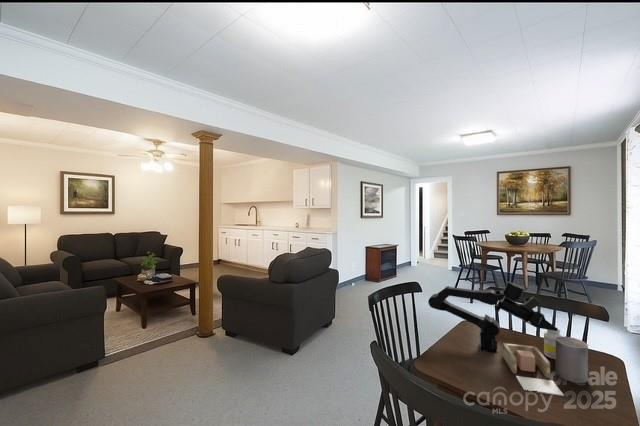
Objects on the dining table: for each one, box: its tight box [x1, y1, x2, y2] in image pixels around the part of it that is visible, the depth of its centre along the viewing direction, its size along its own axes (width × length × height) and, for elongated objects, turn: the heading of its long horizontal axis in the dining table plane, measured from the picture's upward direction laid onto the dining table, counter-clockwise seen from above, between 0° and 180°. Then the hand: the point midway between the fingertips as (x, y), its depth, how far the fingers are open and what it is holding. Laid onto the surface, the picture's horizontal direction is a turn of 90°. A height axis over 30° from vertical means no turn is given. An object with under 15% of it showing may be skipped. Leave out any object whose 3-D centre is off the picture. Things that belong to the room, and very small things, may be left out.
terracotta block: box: [517, 350, 536, 373], centre depth 122 cm, size 5×5×6 cm
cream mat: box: [515, 375, 565, 397], centre depth 110 cm, size 12×9×1 cm
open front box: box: [502, 342, 551, 379], centre depth 123 cm, size 12×14×6 cm
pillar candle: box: [555, 335, 589, 384], centre depth 115 cm, size 10×10×15 cm
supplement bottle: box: [543, 325, 563, 360], centre depth 131 cm, size 7×7×13 cm
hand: (554, 328), depth 126 cm, fingers open, 9 cm apart
